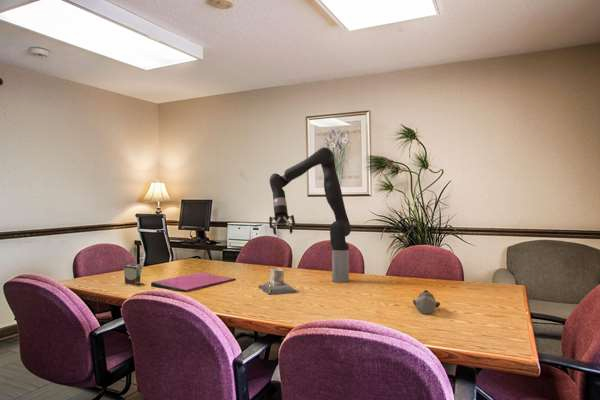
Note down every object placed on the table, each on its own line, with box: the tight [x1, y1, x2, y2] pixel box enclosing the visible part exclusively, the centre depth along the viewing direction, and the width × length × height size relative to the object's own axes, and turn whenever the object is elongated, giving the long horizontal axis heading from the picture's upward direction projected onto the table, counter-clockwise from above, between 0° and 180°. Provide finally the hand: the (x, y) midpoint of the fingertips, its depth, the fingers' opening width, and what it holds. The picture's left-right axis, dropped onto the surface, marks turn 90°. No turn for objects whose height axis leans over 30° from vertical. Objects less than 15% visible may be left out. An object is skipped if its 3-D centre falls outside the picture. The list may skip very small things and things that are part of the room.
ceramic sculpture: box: [412, 289, 441, 315], centre depth 161 cm, size 11×9×15 cm
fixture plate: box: [258, 281, 297, 296], centre depth 200 cm, size 14×18×4 cm
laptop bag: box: [150, 272, 237, 293], centre depth 217 cm, size 40×4×27 cm
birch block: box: [269, 267, 285, 286], centre depth 200 cm, size 5×7×9 cm
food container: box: [122, 263, 143, 286], centre depth 218 cm, size 12×6×10 cm, turn 58°
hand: (283, 234), depth 223 cm, fingers open, 8 cm apart
